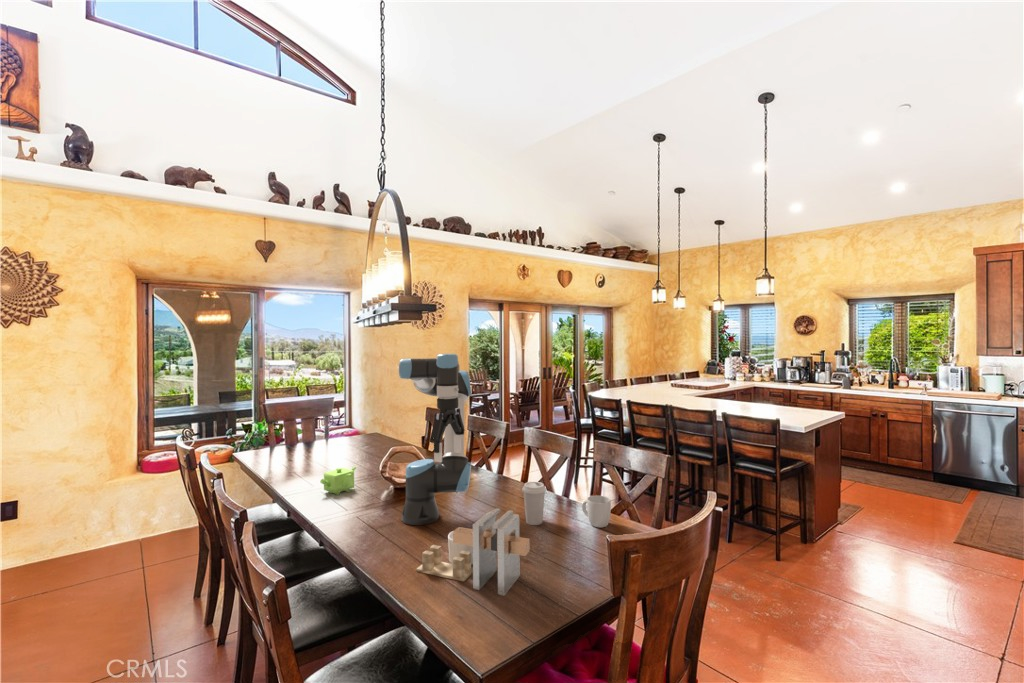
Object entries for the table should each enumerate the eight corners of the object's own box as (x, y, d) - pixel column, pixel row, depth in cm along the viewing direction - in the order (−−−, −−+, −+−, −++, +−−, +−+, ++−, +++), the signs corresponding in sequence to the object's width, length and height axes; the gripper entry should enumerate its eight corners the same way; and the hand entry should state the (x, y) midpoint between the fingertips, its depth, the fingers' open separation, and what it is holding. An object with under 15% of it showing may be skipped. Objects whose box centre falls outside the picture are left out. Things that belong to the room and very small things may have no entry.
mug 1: (466, 569, 149) (466, 544, 149) (441, 561, 155) (441, 537, 155) (490, 553, 160) (490, 529, 160) (466, 546, 166) (466, 523, 166)
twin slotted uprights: (473, 588, 138) (472, 521, 137) (490, 569, 149) (490, 507, 149) (504, 595, 134) (503, 526, 134) (519, 575, 145) (519, 511, 145)
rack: (416, 571, 148) (416, 552, 148) (428, 561, 155) (428, 543, 155) (463, 581, 142) (463, 561, 142) (474, 570, 148) (474, 552, 148)
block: (453, 543, 145) (452, 531, 145) (458, 538, 148) (458, 526, 148) (525, 556, 136) (525, 543, 136) (529, 550, 139) (529, 538, 139)
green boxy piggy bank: (357, 485, 235) (357, 463, 235) (353, 495, 221) (353, 471, 221) (326, 487, 232) (325, 465, 232) (320, 497, 218) (319, 473, 218)
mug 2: (615, 524, 183) (615, 499, 183) (601, 531, 178) (600, 505, 177) (590, 515, 193) (589, 491, 193) (575, 521, 187) (575, 496, 187)
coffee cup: (544, 527, 181) (544, 489, 181) (520, 525, 183) (520, 487, 183) (547, 518, 191) (547, 481, 191) (524, 516, 193) (524, 480, 193)
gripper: (438, 402, 153) (438, 467, 153) (473, 393, 176) (473, 449, 176) (418, 401, 155) (419, 464, 156) (455, 392, 178) (456, 448, 179)
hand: (448, 457), depth 166 cm, fingers open, 13 cm apart
